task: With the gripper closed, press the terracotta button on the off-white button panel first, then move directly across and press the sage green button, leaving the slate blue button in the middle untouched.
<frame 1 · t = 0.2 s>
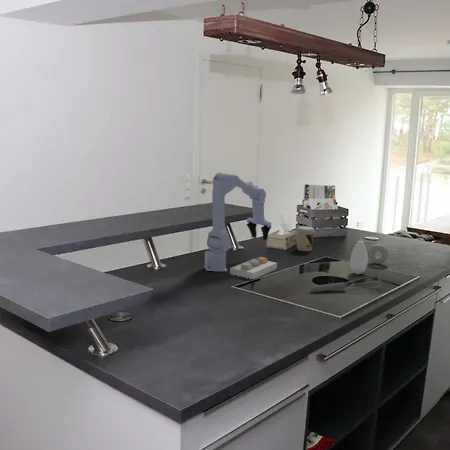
hand: (259, 238, 270), 10 cm above the counter, tool pointing down, fingers open, 7 cm apart
button panel: (253, 271, 248), on the counter
sauce bottle: (357, 274, 251), on the counter
donut: (377, 264, 270), on the counter
terracotta button: (261, 261, 253), point 4 cm above the counter, slide at 0.0 cm
kitchen whisk: (345, 291, 226), on the counter
coffee cup: (304, 249, 295), on the counter
slate blue button: (254, 264, 247), point 4 cm above the counter, slide at 0.0 cm
sage green button: (246, 267, 242), point 4 cm above the counter, slide at 0.0 cm
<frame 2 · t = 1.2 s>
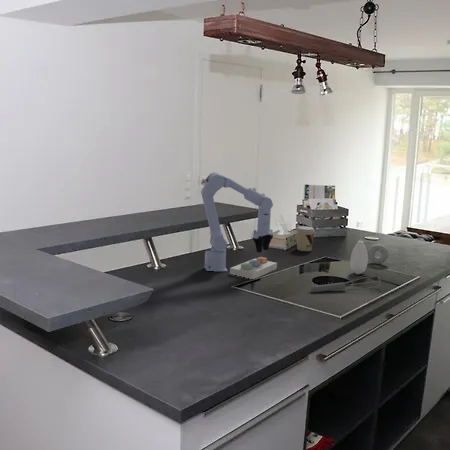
hand: (262, 251, 252), 8 cm above the counter, tool pointing down, fingers open, 5 cm apart
nothing on the counter moved.
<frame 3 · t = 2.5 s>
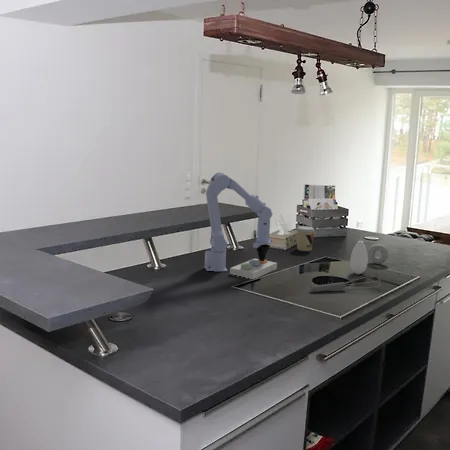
hand: (261, 260, 253), 4 cm above the counter, tool pointing down, fingers closed, pressing on terracotta button
terracotta button: (261, 263, 253), point 3 cm above the counter, slide at 1.0 cm, touching gripper
everything else where it was.
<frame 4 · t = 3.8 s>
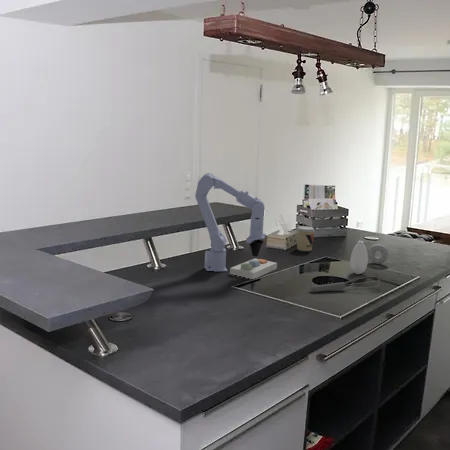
hand: (255, 255, 247), 7 cm above the counter, tool pointing down, fingers closed
terracotta button: (261, 263, 253), point 2 cm above the counter, slide at 1.0 cm
everything else where it was.
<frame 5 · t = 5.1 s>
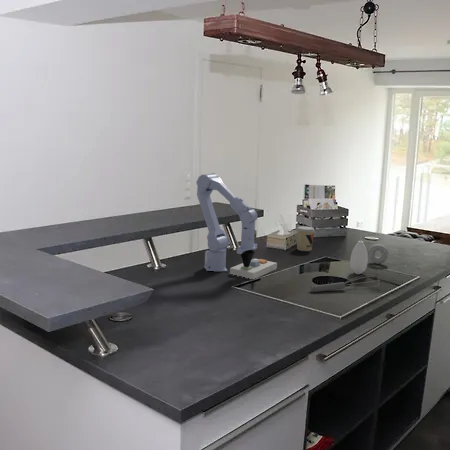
hand: (246, 266, 241), 4 cm above the counter, tool pointing down, fingers closed, pressing on sage green button
sage green button: (246, 269, 242), point 2 cm above the counter, slide at 1.0 cm, touching gripper
everything else where it was.
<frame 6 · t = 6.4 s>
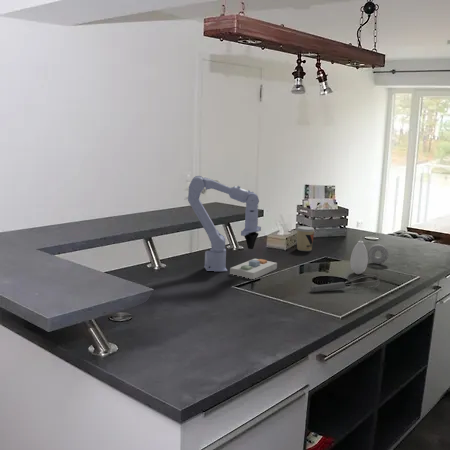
hand: (250, 248, 247), 10 cm above the counter, tool pointing down, fingers closed
sage green button: (246, 269, 242), point 2 cm above the counter, slide at 1.0 cm
everything else where it was.
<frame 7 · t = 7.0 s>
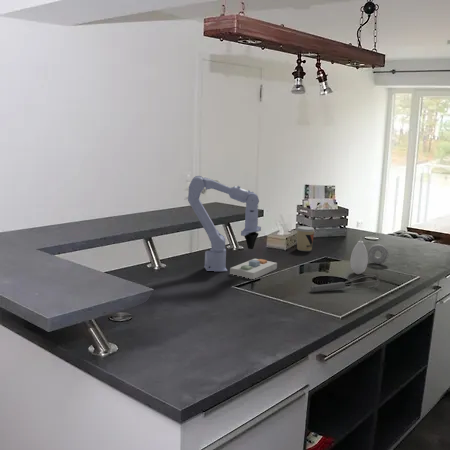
hand: (250, 248, 247), 10 cm above the counter, tool pointing down, fingers closed
nothing on the counter moved.
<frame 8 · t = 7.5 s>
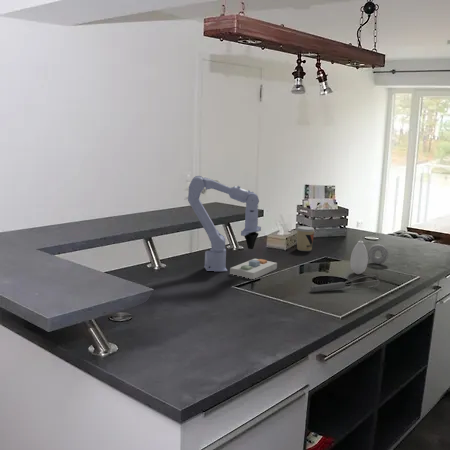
hand: (250, 248, 247), 10 cm above the counter, tool pointing down, fingers closed
nothing on the counter moved.
at the end: terracotta button slide at 1.0 cm; sage green button slide at 1.0 cm; slate blue button slide at 0.0 cm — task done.
